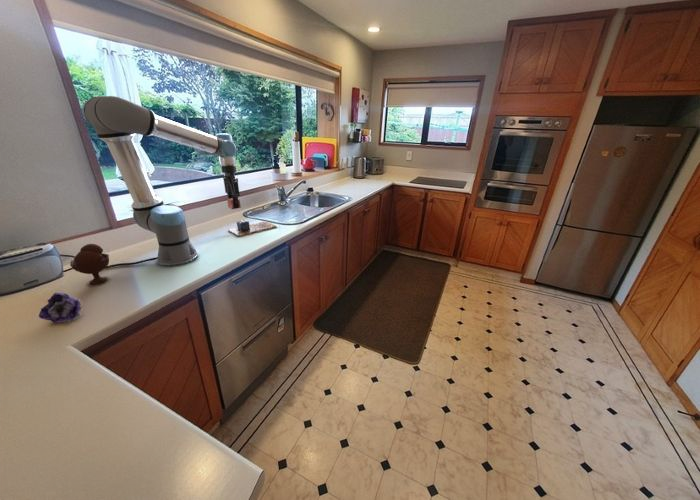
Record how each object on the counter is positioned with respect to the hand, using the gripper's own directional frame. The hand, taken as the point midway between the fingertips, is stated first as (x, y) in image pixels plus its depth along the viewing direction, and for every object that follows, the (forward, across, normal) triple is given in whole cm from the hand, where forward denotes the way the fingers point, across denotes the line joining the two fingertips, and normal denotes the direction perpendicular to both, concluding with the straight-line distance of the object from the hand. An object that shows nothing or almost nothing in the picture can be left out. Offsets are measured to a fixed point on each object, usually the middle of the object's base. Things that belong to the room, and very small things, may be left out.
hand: (234, 207), depth 159 cm
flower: (+13, -42, +76) cm, 88 cm away
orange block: (0, 0, 0) cm, 0 cm away
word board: (+13, -7, -6) cm, 16 cm away
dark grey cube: (+12, -7, -1) cm, 14 cm away
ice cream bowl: (+13, -22, +66) cm, 71 cm away
